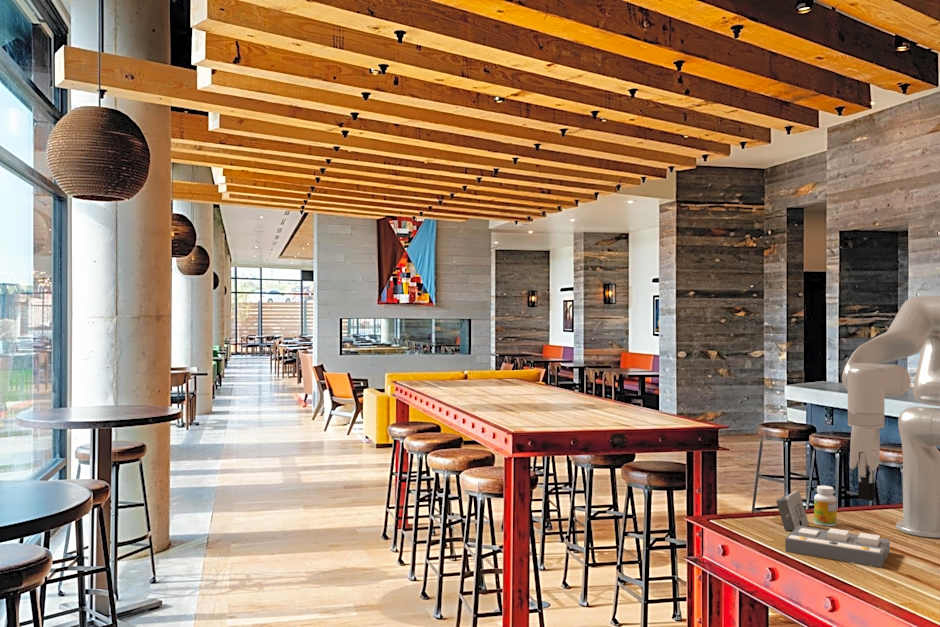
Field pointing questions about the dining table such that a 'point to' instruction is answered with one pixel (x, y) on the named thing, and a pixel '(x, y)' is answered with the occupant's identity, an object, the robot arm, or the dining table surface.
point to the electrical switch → (792, 511)
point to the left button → (808, 532)
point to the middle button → (838, 535)
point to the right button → (869, 539)
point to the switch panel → (837, 547)
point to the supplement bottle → (825, 506)
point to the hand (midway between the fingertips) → (866, 499)
